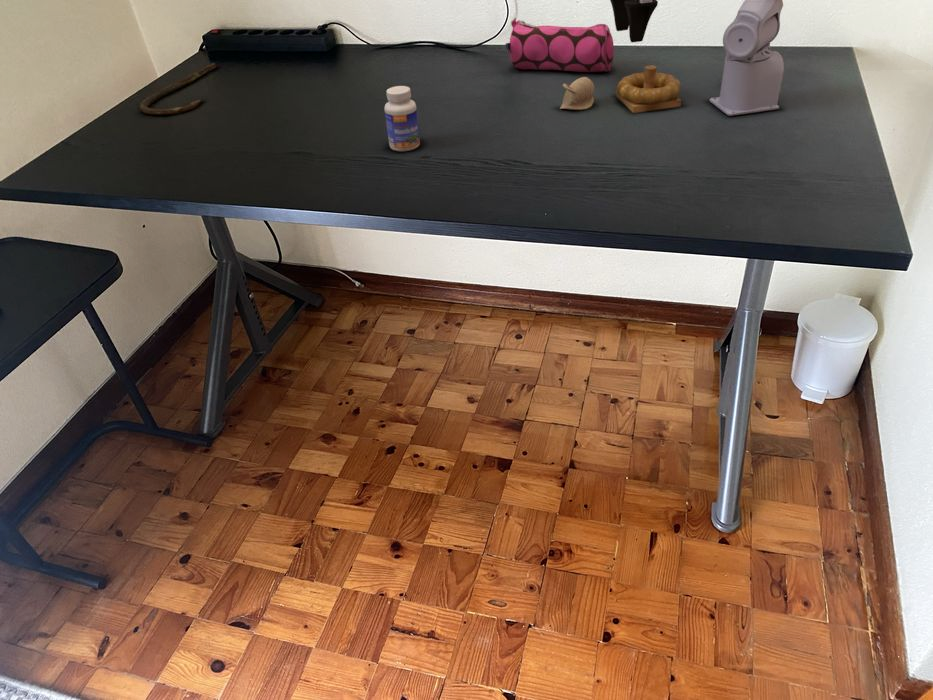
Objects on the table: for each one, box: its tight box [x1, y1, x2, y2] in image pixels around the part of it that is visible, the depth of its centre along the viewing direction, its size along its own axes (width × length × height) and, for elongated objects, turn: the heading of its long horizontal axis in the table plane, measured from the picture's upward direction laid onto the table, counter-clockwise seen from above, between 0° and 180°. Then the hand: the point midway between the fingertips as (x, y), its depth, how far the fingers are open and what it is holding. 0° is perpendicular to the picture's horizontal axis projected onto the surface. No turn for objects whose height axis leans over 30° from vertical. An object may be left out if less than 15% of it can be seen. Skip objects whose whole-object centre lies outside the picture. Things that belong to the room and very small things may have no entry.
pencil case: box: [505, 17, 615, 73], centre depth 149 cm, size 21×10×10 cm, turn 73°
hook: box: [139, 62, 217, 116], centre depth 158 cm, size 12×30×2 cm, turn 8°
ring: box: [616, 71, 682, 104], centre depth 134 cm, size 11×11×3 cm
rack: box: [615, 65, 682, 114], centre depth 133 cm, size 9×9×6 cm
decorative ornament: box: [559, 76, 595, 111], centre depth 134 cm, size 4×8×5 cm, turn 129°
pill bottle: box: [383, 85, 421, 152], centre depth 124 cm, size 5×5×10 cm
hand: (629, 35), depth 136 cm, fingers open, 7 cm apart
